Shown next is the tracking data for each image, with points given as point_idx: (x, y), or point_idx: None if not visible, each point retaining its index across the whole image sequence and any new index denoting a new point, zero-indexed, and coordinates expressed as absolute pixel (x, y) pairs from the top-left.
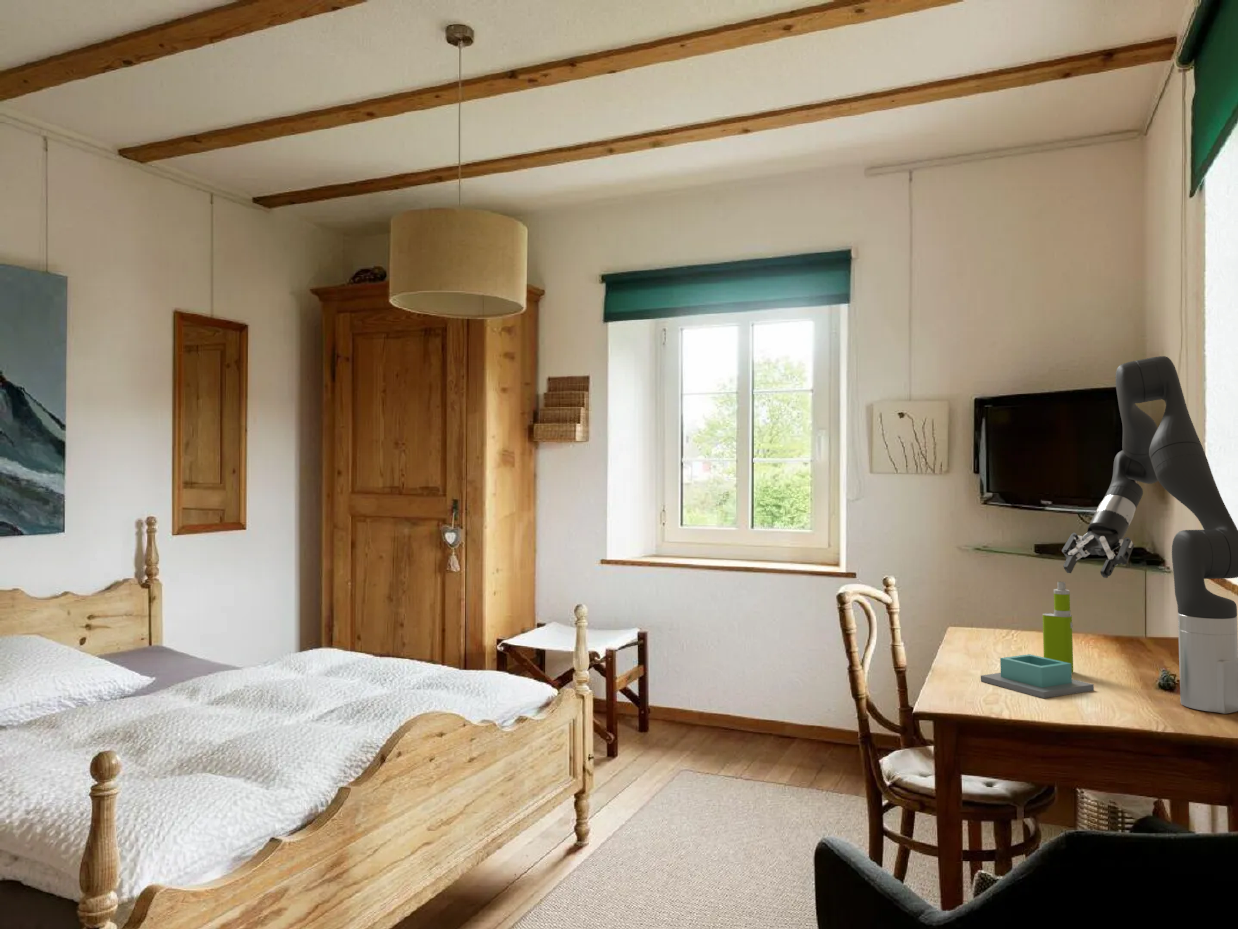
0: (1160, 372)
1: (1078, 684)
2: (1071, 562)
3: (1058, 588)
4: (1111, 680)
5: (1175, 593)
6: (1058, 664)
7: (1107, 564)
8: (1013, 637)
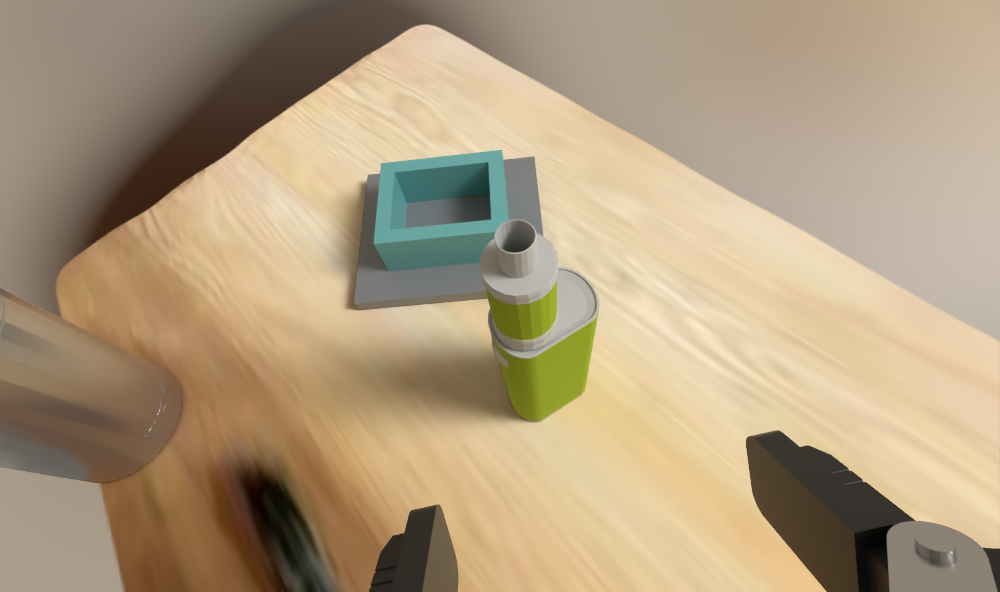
0: None
1: (371, 273)
2: (801, 507)
3: (519, 239)
4: (402, 435)
5: None
6: (382, 212)
7: (395, 587)
8: None
